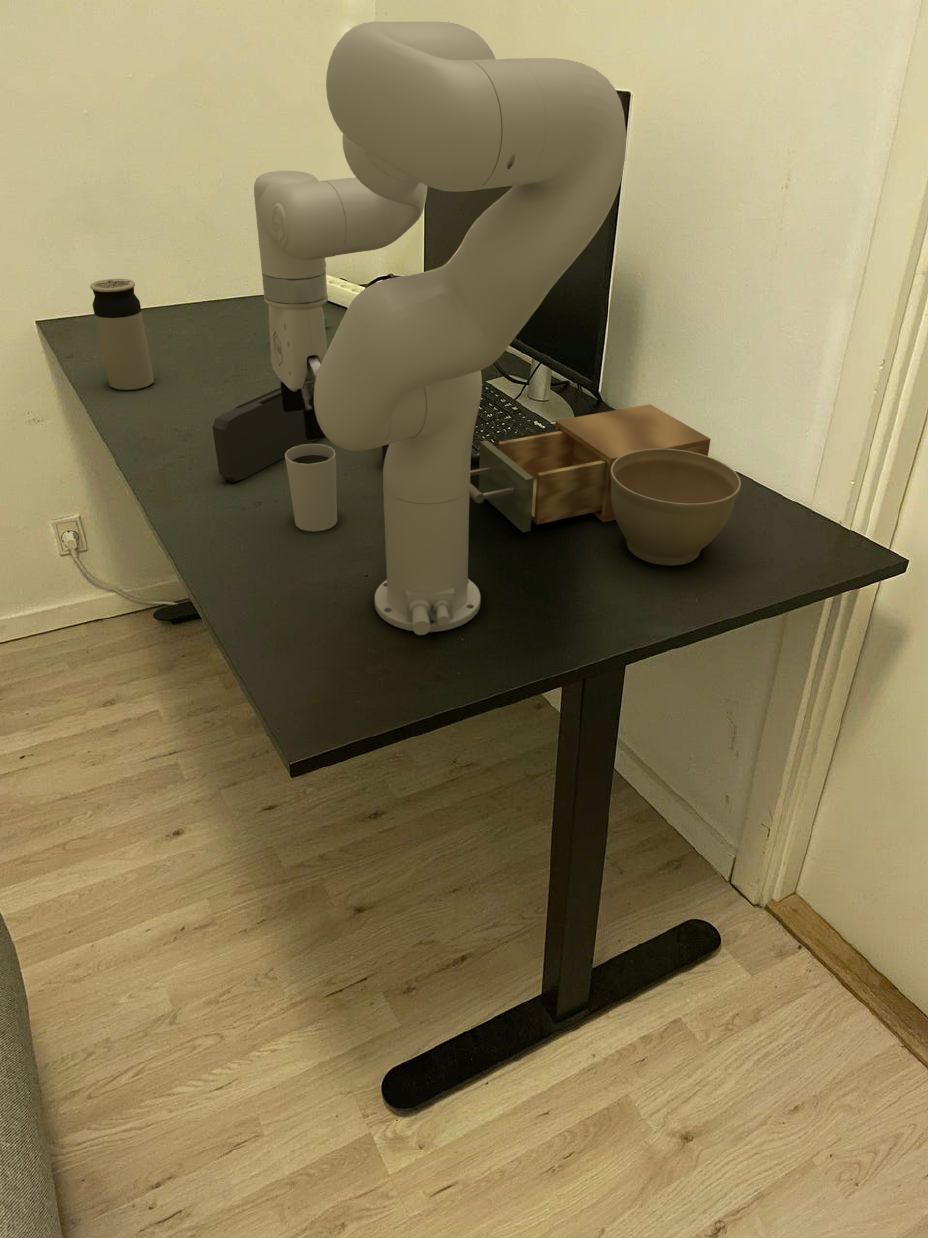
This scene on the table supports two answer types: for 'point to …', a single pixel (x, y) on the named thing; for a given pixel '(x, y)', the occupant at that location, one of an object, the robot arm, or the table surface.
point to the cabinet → (630, 438)
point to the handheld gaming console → (256, 435)
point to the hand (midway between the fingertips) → (306, 423)
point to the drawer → (540, 478)
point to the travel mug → (122, 334)
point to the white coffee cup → (313, 486)
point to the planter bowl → (671, 502)
